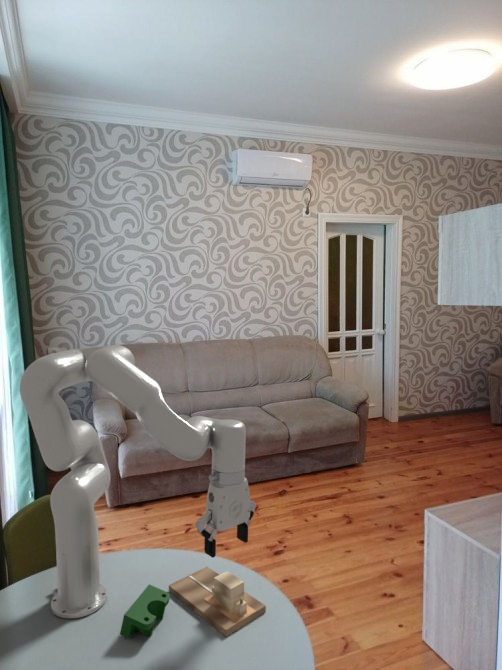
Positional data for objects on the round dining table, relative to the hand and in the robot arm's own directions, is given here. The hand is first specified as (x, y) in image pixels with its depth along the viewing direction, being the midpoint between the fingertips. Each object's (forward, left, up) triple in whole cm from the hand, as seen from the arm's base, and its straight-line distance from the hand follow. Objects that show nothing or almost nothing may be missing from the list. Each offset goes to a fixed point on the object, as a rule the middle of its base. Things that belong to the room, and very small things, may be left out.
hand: (226, 547), depth 111 cm
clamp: (-8, -16, -16) cm, 24 cm away
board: (-5, 0, -15) cm, 16 cm away
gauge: (0, 0, -14) cm, 14 cm away
